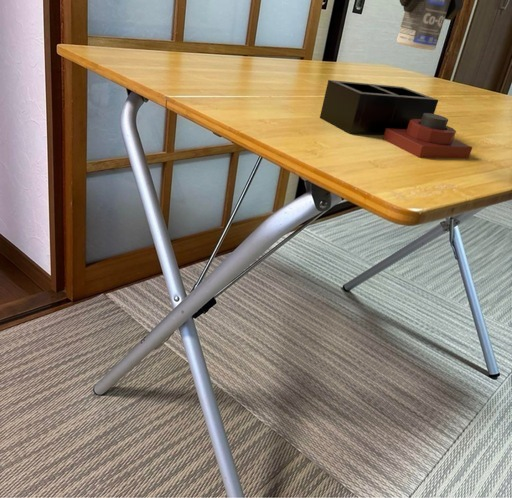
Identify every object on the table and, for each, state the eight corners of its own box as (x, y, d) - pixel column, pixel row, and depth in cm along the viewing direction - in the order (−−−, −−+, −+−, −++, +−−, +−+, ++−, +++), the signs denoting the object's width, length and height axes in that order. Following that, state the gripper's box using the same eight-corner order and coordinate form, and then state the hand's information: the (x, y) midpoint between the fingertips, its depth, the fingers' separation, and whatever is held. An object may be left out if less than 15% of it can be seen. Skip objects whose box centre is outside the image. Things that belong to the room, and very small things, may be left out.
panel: (430, 140, 82) (437, 118, 80) (468, 158, 76) (477, 135, 74) (382, 139, 77) (389, 116, 75) (418, 157, 71) (427, 133, 69)
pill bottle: (418, 49, 60) (443, -32, 56) (388, 41, 63) (409, -37, 59) (442, 51, 62) (467, -26, 58) (412, 43, 65) (434, -31, 61)
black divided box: (392, 121, 90) (403, 86, 87) (426, 137, 83) (438, 100, 81) (319, 118, 82) (328, 79, 80) (349, 134, 76) (360, 93, 73)
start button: (432, 125, 77) (435, 113, 76) (449, 132, 74) (453, 120, 73) (414, 124, 75) (418, 112, 75) (431, 131, 73) (435, 119, 72)
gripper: (379, -148, 58) (394, -26, 54) (486, -119, 62) (508, -2, 58) (350, -91, 65) (361, 22, 61) (448, -67, 69) (465, 41, 65)
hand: (432, 10), depth 59 cm, fingers closed on pill bottle, 4 cm apart
